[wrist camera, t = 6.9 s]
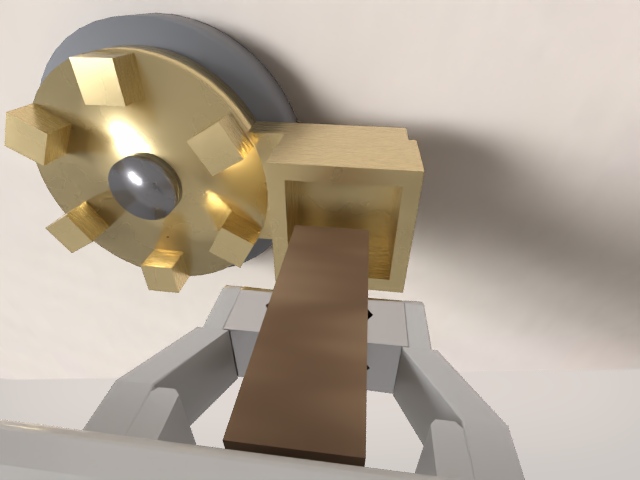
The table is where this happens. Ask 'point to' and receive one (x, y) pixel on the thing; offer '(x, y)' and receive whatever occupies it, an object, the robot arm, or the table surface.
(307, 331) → the brown wooden peg
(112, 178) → the rotary feeder
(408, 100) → the table surface
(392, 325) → the robot arm
